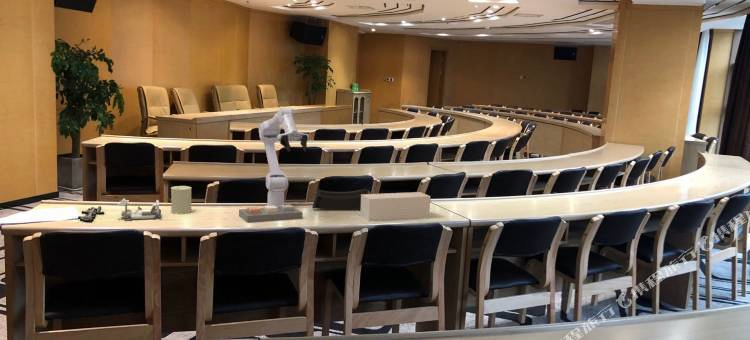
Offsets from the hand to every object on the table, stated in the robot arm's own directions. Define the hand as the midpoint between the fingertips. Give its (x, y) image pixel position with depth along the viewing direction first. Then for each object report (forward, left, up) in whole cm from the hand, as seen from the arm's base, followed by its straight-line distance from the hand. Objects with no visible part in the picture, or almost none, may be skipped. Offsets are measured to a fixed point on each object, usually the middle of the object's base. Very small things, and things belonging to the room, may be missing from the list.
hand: (297, 150), depth 272 cm
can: (-33, -45, -33) cm, 64 cm away
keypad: (-10, -9, -32) cm, 35 cm away
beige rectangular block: (+7, +48, -33) cm, 59 cm away
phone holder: (-27, -64, -33) cm, 77 cm away
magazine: (-14, +30, -33) cm, 46 cm away
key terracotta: (-10, -17, -30) cm, 36 cm away
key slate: (-10, -1, -30) cm, 32 cm away
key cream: (-10, -9, -30) cm, 33 cm away
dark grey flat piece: (-37, -83, -33) cm, 96 cm away
